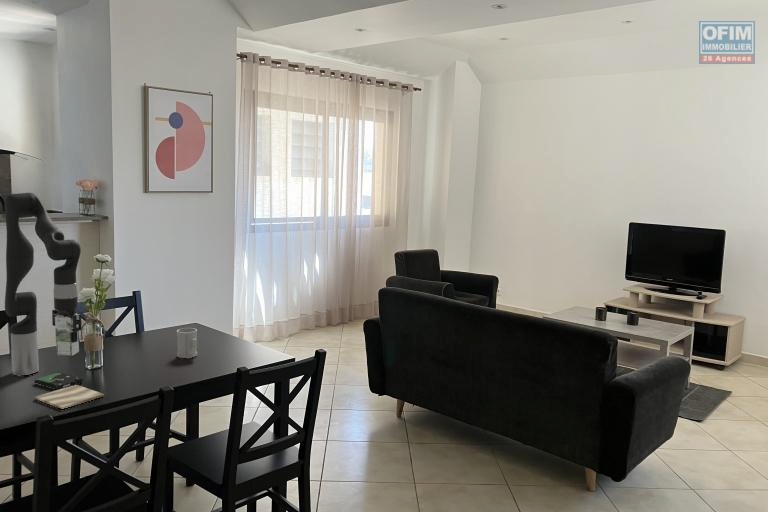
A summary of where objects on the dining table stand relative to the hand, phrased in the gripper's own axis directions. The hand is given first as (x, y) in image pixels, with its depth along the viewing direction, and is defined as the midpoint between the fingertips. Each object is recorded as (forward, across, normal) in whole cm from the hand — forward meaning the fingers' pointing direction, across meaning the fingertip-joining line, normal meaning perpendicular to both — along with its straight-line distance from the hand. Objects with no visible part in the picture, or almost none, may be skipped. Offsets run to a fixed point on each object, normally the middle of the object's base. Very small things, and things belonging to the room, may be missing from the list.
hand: (67, 340), depth 223 cm
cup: (+22, -7, +61) cm, 65 cm away
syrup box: (+5, 0, 0) cm, 5 cm away
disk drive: (+23, -18, +7) cm, 30 cm away
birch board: (+22, 0, 0) cm, 22 cm away
